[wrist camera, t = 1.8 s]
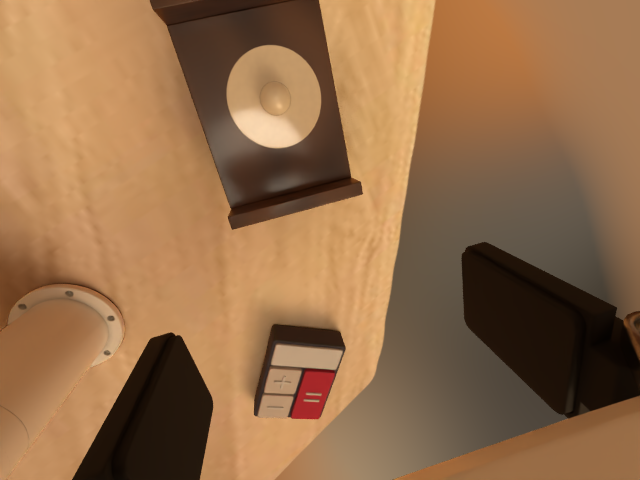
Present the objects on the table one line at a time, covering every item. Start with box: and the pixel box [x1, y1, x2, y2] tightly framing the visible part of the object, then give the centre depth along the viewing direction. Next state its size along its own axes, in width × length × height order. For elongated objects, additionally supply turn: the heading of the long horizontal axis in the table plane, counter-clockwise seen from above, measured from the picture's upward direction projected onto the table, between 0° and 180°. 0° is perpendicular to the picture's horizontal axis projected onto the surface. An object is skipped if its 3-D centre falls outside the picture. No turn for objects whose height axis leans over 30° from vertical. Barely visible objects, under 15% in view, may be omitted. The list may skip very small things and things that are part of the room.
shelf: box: [150, 0, 363, 230], centre depth 29 cm, size 12×17×13 cm
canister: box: [226, 45, 321, 148], centre depth 21 cm, size 6×6×10 cm
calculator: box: [254, 325, 346, 419], centre depth 46 cm, size 11×4×15 cm
